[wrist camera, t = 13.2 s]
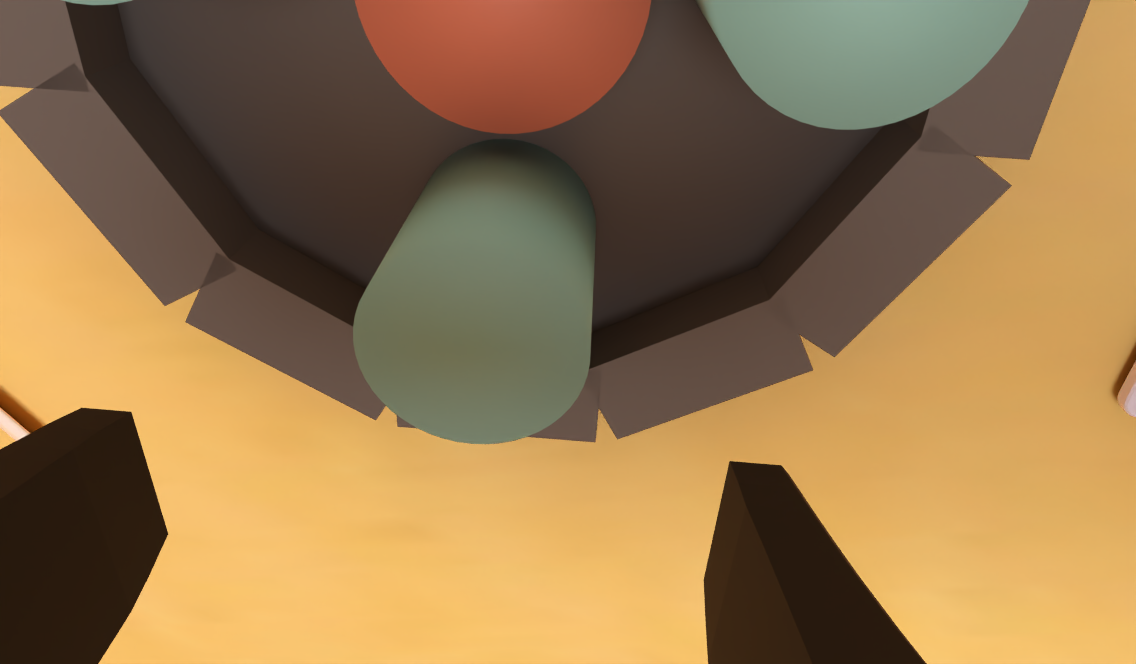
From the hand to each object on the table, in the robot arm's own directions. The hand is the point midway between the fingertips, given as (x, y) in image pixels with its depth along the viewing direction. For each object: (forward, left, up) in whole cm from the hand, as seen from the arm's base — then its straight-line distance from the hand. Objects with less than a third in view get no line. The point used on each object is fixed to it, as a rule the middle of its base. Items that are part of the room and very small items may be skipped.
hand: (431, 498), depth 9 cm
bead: (0, 0, -8) cm, 8 cm away
